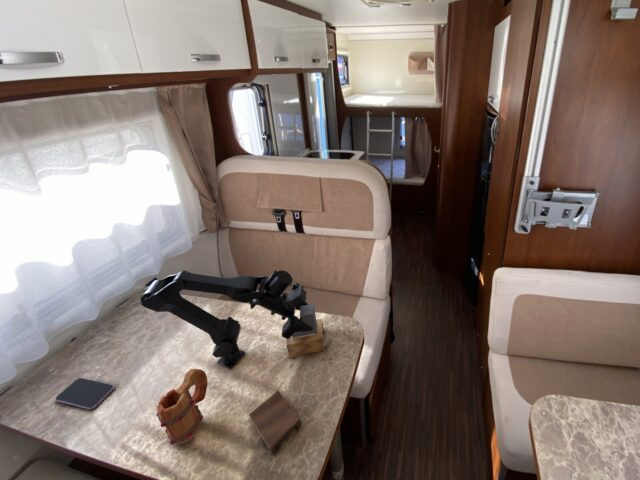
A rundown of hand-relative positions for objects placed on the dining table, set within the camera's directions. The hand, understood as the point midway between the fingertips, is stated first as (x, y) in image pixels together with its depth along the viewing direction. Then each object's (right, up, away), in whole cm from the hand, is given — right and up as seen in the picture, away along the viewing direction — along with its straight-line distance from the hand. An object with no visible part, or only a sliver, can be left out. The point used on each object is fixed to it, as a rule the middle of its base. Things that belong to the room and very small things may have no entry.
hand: (312, 320), depth 105 cm
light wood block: (-3, -10, +4) cm, 11 cm away
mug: (-29, -21, -19) cm, 41 cm away
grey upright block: (-3, -4, +1) cm, 5 cm away
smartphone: (-70, -19, -10) cm, 73 cm away
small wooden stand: (-6, -20, -20) cm, 29 cm away
